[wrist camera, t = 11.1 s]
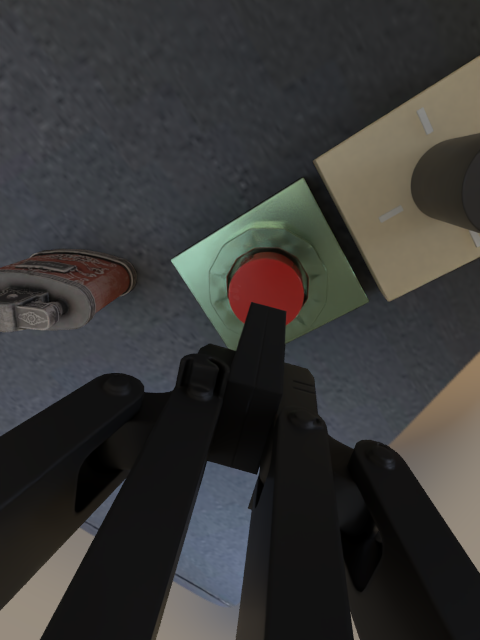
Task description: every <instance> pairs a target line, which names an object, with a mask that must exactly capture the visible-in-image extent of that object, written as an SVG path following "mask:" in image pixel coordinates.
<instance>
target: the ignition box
mask: <svg viewBox="0 0 480 640" xmlns="http://www.w3.org/2000/svg"><path fill="white" fill-rule="evenodd" d="M260 252H275V253H279V254H281V255H284V256H286V257H287V258H289V259H290V260H291V261H292V262H293V263H294V264H295V265H296V266H297V268H298V269H299V271H300V273H301V276H302V280H303V288H304V301H303V305H302V308H301V310H300V312H299V314H298V315H297V316H296V318H295V319H294V320H293V321H291V322H290V323H289V324H287V325H286V333H285V344H286V343H288V342H290V341H292V340H294V339H296V338H298V337H300V336H302V335H304V334H306V333H308V332H310V331H312V330H314V329H316V328H318V327H320V326H322V325H324V324H326V323H328V322H330V321H332V320H334V319H336V318H338V317H340V316H342V315H344V314H346V313H348V312H350V311H352V310H354V309H356V308H358V307H360V306H362V305H364V304H366V303H368V302H369V300H368V298H367V296H366V294H365V292H364V290H363V288H362V287H361V285H360V283H359V281H358V279H357V277H356V275H355V273H354V272H353V270H352V268H351V266H350V264H349V262H348V260H347V258H346V257H345V255H344V253H343V251H342V249H341V247H340V245H339V243H338V242H337V240H336V238H335V236H334V234H333V232H332V230H331V228H330V227H329V225H328V223H327V221H326V219H325V217H324V215H323V213H322V212H321V210H320V208H319V206H318V204H317V202H316V200H315V198H314V196H313V195H312V193H311V191H310V189H309V187H308V185H307V183H306V181H305V180H304V178H303V177H301V178H299V179H298V180H296V181H294V182H293V183H291V184H290V185H288V186H286V187H285V188H283V189H282V190H280V191H278V192H277V193H275V194H274V195H272V196H270V197H269V198H267V199H266V200H264V201H262V202H261V203H259V204H257V205H256V206H254V207H253V208H251V209H249V210H248V211H246V212H245V213H243V214H241V215H240V216H238V217H237V218H235V219H233V220H232V221H230V222H229V223H227V224H225V225H224V226H222V227H221V228H219V229H217V230H216V231H214V232H213V233H211V234H209V235H208V236H206V237H205V238H203V239H201V240H200V241H198V242H197V243H195V244H193V245H192V246H190V247H189V248H187V249H185V250H184V251H182V252H181V253H179V254H178V255H176V256H175V257H173V258H172V259H171V262H172V264H173V265H174V267H175V268H176V270H177V271H178V273H179V274H180V276H181V277H182V279H183V280H184V282H185V283H186V285H187V286H188V288H189V289H190V291H191V293H192V294H193V296H194V297H195V299H196V300H197V302H198V303H199V305H200V306H201V308H202V309H203V311H204V312H205V314H206V315H207V317H208V318H209V320H210V322H211V323H212V325H213V326H214V328H215V329H216V331H217V332H218V334H219V335H220V337H221V338H222V340H223V341H224V343H225V344H226V346H227V347H228V349H231V350H235V351H236V349H237V346H238V343H239V339H240V336H241V333H242V330H243V327H244V323H243V322H242V321H240V320H239V319H238V318H237V316H236V315H235V314H234V312H233V310H232V308H231V306H230V302H229V297H228V290H229V285H230V282H231V279H232V277H233V275H234V274H235V272H236V270H237V268H238V267H239V265H240V264H241V263H242V262H243V261H244V260H245V259H247V258H248V257H250V256H252V255H254V254H256V253H260Z"/></svg>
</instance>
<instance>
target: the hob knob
mask: <svg viewBox="0 0 480 640" xmlns="http://www.w3.org/2000/svg"><path fill="white" fill-rule="evenodd" d="M411 194H412V198H413V200H414V203H415V204H416V206H417V207H418V209H419V210H420V211H421V212H422V213H424V214H425V215H427V216H429V217H431V218H434V219H437V220H440V221H443V222H446V223H449V224H452V225H455V226H458V227H461V228H465V229H468V230H471V231H474V232H477V233H480V133H477V134H473V135H468V136H463V137H458V138H453V139H449V140H445V141H442V142H440V143H438V144H436V145H434V146H433V147H431V148H430V149H429V150H428V151H427V152H426V153H425V154H424V155H423V156H422V157H421V158H420V160H419V161H418V163H417V164H416V166H415V168H414V171H413V174H412V178H411Z"/></svg>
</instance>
